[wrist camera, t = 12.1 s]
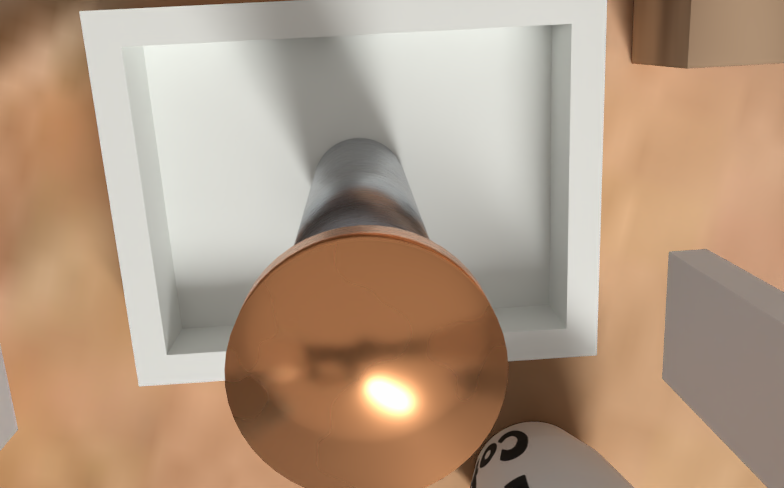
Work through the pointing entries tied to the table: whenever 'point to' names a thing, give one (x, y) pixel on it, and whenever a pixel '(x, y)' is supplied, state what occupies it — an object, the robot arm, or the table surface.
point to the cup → (542, 461)
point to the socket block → (708, 33)
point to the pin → (365, 340)
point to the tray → (342, 122)
